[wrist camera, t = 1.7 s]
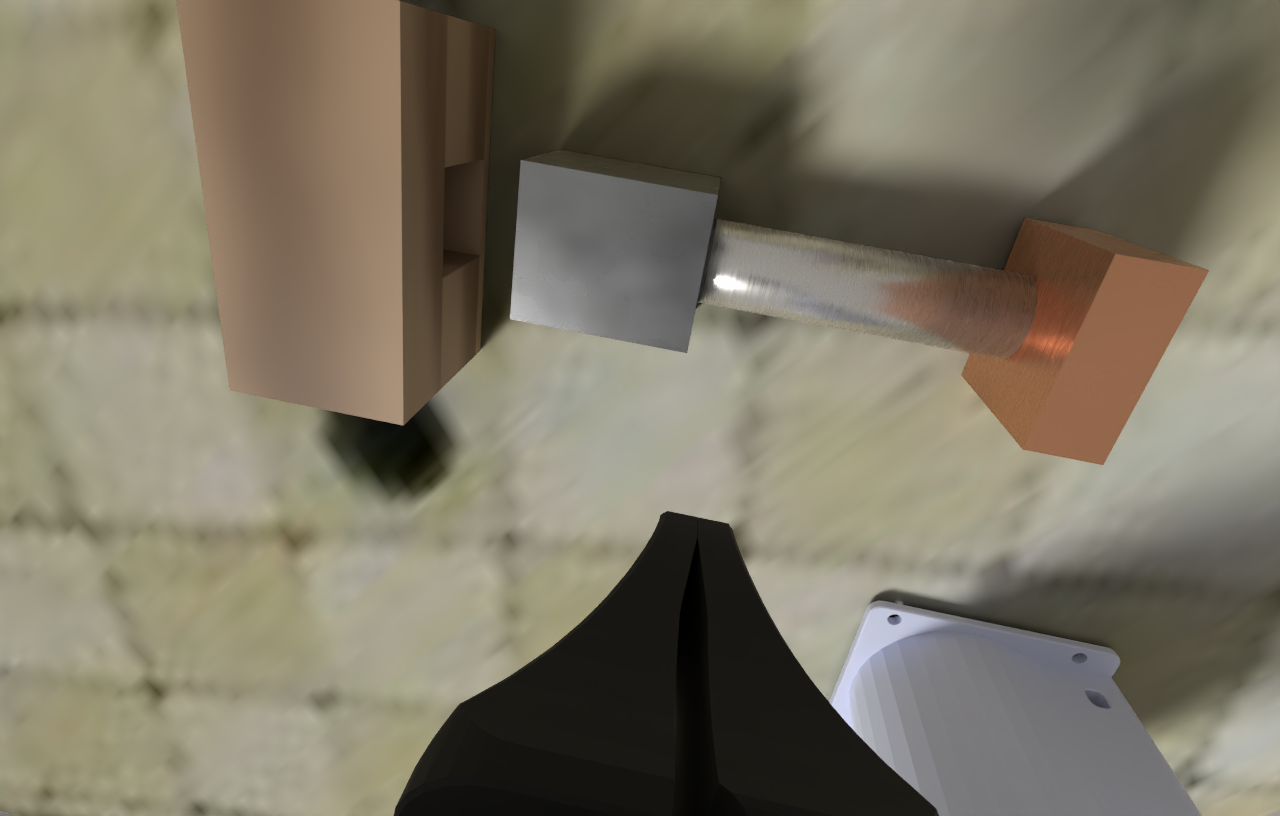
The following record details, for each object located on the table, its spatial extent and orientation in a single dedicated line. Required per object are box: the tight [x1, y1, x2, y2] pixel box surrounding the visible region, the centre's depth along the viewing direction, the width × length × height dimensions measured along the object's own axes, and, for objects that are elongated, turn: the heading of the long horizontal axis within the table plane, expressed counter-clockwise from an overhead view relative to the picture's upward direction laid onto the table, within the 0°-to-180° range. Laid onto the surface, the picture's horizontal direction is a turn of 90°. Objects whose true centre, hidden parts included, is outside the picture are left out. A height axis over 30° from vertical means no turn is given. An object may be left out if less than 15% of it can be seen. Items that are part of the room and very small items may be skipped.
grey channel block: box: [510, 149, 721, 353], centre depth 19 cm, size 5×4×4 cm
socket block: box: [176, 0, 496, 425], centre depth 18 cm, size 5×10×6 cm, turn 171°
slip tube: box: [697, 218, 1209, 465], centre depth 18 cm, size 16×5×5 cm, turn 81°
